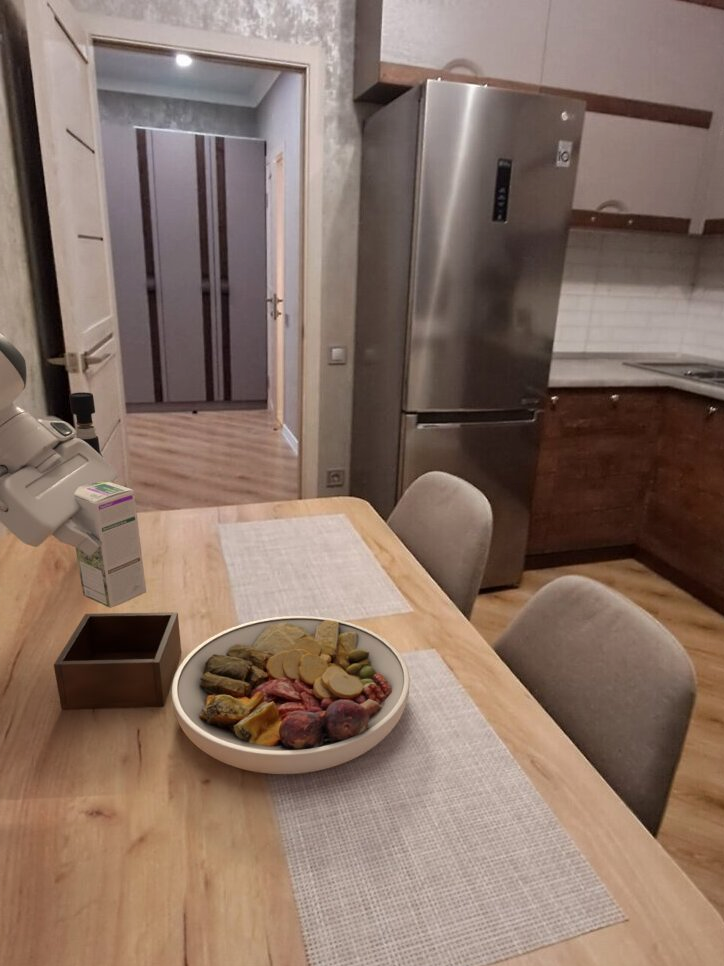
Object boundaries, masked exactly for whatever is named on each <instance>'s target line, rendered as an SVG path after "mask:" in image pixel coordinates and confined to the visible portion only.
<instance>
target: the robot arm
mask: <svg viewBox="0 0 724 966" xmlns="http://www.w3.org/2000/svg"><path fill="white" fill-rule="evenodd" d="M27 377H28V375H27V363H26V359H25V358H24V355H22V353H21V352H20V351H19V350H18V348H17V347H16V346H15V345H14V344H13V343H11V341H10V340H9V339H8V338H7V337H5V336H4V335H3V333H1V332H0V523H1V524H2V525H3V526H4V527H5V528H7V530H9V531H10V532H11V533H12V534H13V536H14V537H16V538H17V539H18V540H20V541H21V542H22V543H23V544H25V545H28V546H31V547H35V548H37V547H39V546H41V545H42V544H43V543H44V542H45V541H47V540H48V539H49V538H50V537H52V536H53V537H54V538H56V539H57V541H59V542H61V543H63V544H66V545H69V546H71V547H74V548H76V547H78V548H79V549H80V550H82V551H83V552H84V553H85V554H86V555H88V556H91V555H92V554H93V553H94V552H95V551H96V550H98V549H99V547H100V546H101V545H102V541H100V540H99V539H97V537H96V536H95V535H94V534H93V533H92V534H90V535H87V534H85V533H84V532H82V531H80V530H78V529H76V528H75V527H76V525H75V524H74V523H73V522H72V521H71V519H72V518H71V517H72V516H73V515H74V514H75V513H77V512H78V511H79V510H80V509H81V507H80V505H79V503H78V501H77V500H76V498H75V497H74V496H75V495H74V493H75V492H76V490H77V489H78V488H79V487H81V486H84V485H87V484H91V483H95V482H100V481H108V482H111V483H114V484H115V482H116V481H117V480H118V478H119V477H118V474H117V471H116V470H115V468H114V467H113V466H112V465H111V464H110V463H109V462H108V461H107V459H105V458H104V456H103V455H102V456H103V457H102V456H101V455H100V454H99V453H98V452H97V451H95V450H94V449H93V448H92V447H91V446H90V445H89V444H87V443H86V442H85V441H83V440H81V439H79V438H76V437H75V436H76V434H77V432H76V429H75V428H74V426H72V425H71V424H70V423H68V422H66V421H63V420H59V421H58V420H46V419H43V418H37V419H36V418H35V417H34V416H33V415H31V414H30V413H29V412H28V411H27V410H25V409H23V408H21V407H20V406H18V405H17V404H15V401H16V400H17V399H18V397H19V396H20V395H21V393H22V392H23V391H24V390H25V389H26V385H27Z"/></svg>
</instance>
